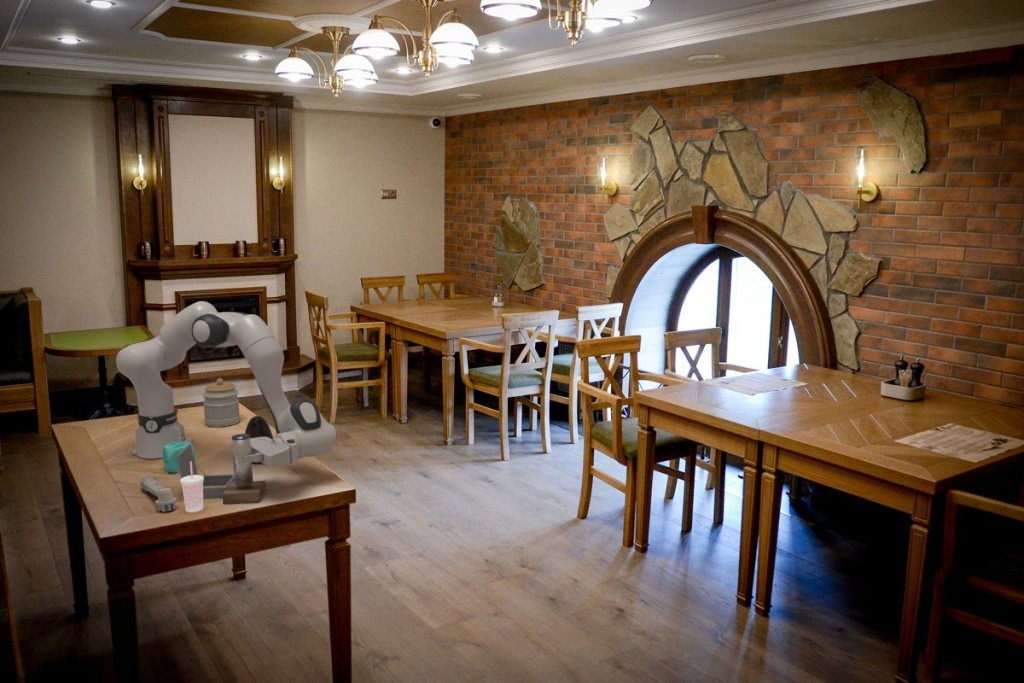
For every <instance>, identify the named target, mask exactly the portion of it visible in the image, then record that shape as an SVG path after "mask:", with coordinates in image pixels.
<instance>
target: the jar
mask: <svg viewBox="0 0 1024 683" xmlns="http://www.w3.org/2000/svg"><path fill="white" fill-rule="evenodd" d="M235 388H236V385H235V384H233V383H232V382H230V381H224V380H223V378H221V377H220V378H217V379H216V380H215V382H212V383H209V384H207V386H205V387H204V390H205V392H203V393H202V397H203V398H204V402H203V409H204V410H203V411H204V424H205V426H207V427H210V426H211V428H223V427H222V426H225V427H230V426H229V425H231V426H234V425H237V424H239V423H240V419H241V415H240V405H239V404H240V399H239V398H238V394H239V391H238V390H237V389H235ZM238 422H239V423H238ZM236 423H237V424H236ZM233 424H234V425H233Z"/></svg>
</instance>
